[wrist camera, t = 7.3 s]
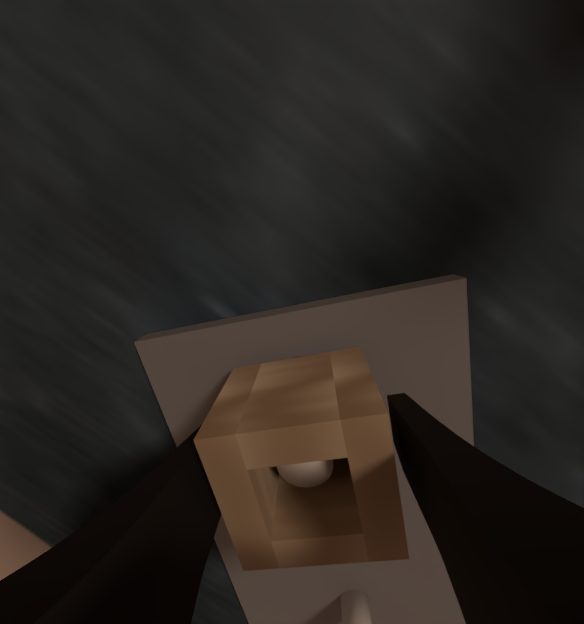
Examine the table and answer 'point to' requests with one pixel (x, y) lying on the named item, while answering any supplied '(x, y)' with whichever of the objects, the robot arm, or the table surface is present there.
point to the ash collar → (301, 449)
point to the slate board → (398, 366)
